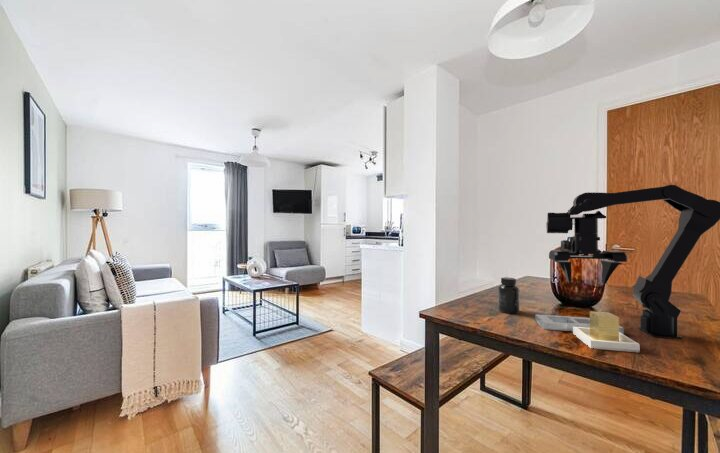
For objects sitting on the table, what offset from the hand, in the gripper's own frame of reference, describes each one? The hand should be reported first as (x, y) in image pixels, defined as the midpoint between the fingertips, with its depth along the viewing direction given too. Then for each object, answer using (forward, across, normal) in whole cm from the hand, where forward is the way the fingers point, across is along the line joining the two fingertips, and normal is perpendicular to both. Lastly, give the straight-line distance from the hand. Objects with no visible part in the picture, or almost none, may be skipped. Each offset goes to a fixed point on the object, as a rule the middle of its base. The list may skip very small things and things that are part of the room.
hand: (586, 283), depth 90 cm
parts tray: (+13, +2, +14) cm, 19 cm away
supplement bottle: (+13, +20, -10) cm, 26 cm away
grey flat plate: (+13, +4, +3) cm, 14 cm away
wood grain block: (+12, +2, +14) cm, 19 cm away
